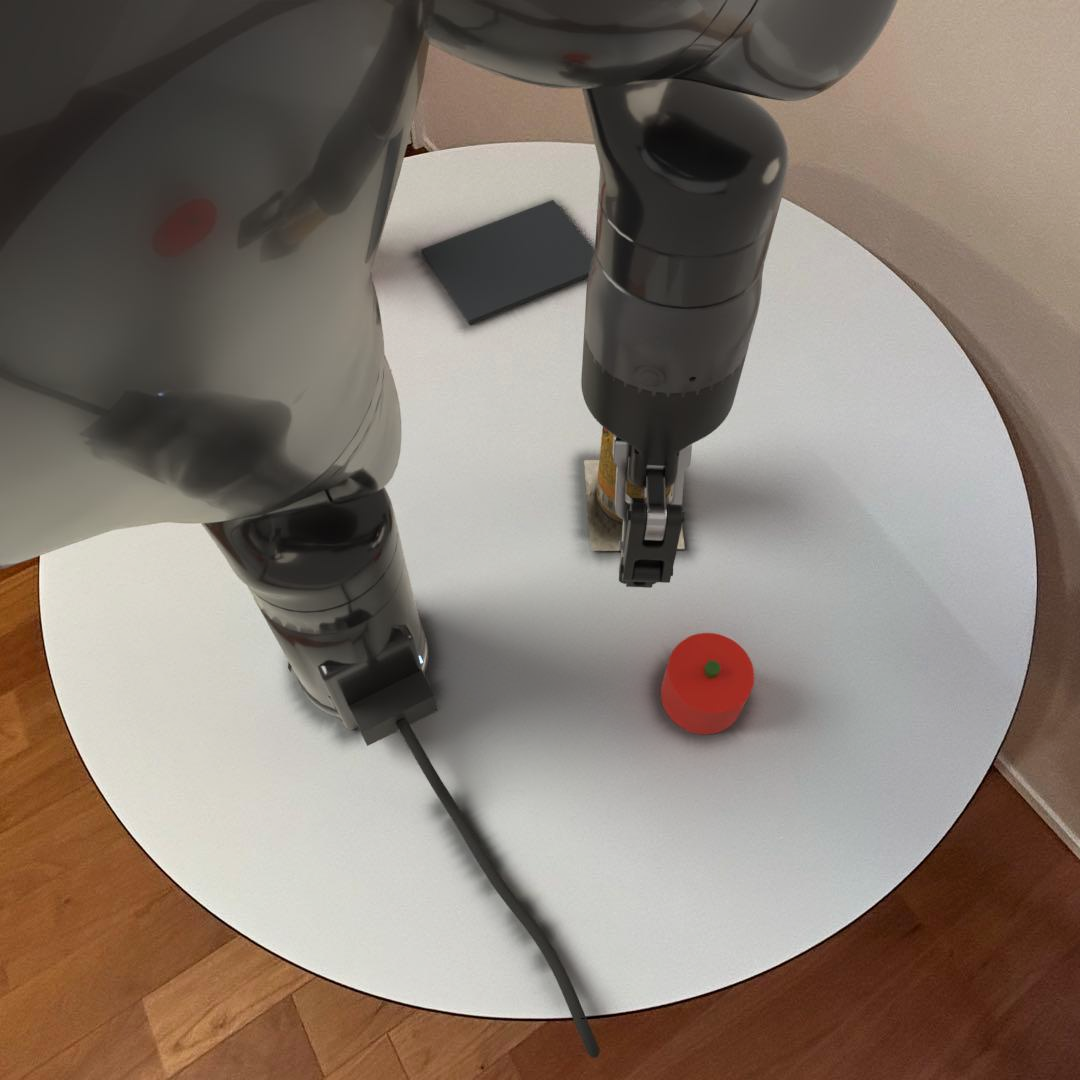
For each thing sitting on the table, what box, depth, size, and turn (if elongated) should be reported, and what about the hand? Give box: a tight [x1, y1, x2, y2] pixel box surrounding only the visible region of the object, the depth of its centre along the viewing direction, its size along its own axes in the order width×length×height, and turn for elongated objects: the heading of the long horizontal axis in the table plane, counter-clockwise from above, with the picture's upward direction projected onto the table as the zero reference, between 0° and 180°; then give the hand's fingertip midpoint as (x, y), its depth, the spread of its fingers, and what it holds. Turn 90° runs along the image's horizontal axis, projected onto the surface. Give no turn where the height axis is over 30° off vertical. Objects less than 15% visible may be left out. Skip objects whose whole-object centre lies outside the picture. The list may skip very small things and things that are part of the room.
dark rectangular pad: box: [420, 199, 594, 326], centre depth 90 cm, size 10×14×1 cm
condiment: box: [583, 426, 685, 552], centre depth 72 cm, size 7×8×12 cm
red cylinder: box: [660, 632, 755, 736], centre depth 67 cm, size 6×6×5 cm
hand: (636, 516), depth 58 cm, fingers open, 8 cm apart
